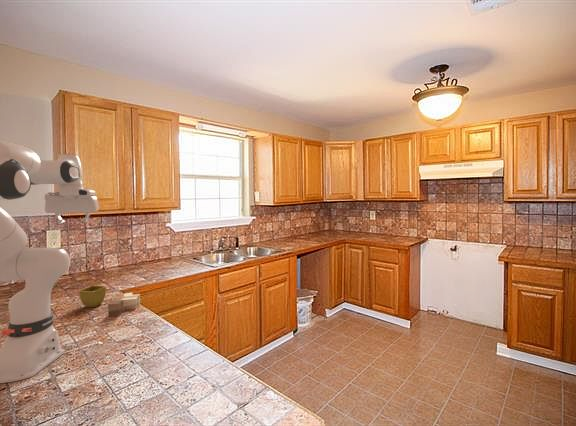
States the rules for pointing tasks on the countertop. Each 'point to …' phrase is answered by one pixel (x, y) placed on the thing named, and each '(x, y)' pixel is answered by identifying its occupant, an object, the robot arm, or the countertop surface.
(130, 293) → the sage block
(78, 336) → the countertop surface
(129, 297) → the maple block
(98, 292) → the flower pot
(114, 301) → the walnut cube
